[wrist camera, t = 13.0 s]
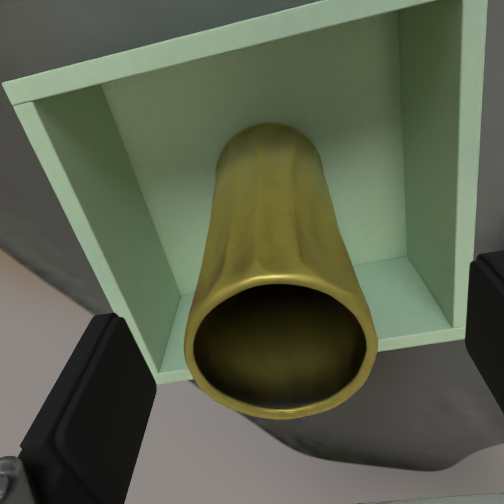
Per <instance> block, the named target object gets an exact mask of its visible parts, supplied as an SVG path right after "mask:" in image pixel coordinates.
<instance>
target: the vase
mask: <svg viewBox="0 0 504 504" xmlns="http://www.w3.org/2000/svg"><path fill="white" fill-rule="evenodd" d="M215 177H216V181H215V187H214V193H213V199H212V209H211V217H210V223H209V228H208V233H207V238H206V244H205V250H204V255H203V261H202V265H201V270H200V274H199V278H198V282H197V286H196V290H195V294H194V298H193V301H192V304H191V307H190V311H189V314H188V321H187V324H186V329H185V336H184V357H185V361H186V364H187V366H188V369H189V371H190V373H191V375H192V377H193V378H194V380H195V382H196V383H197V385H198V386H199V387H200V388H201V390H203V391H204V392H205V393H206V394H207V395H208V396H209V397H211V398H212V399H214V400H215V401H217V402H218V403H220V404H222V405H224V406H226V407H228V408H230V409H233V410H236V411H239V412H241V413H244V414H248V415H251V416H255V417H261V418H267V419H276V420H283V419H294V418H301V417H305V416H309V415H313V414H317V413H320V412H324V411H327V410H329V409H332V408H334V407H336V406H338V405H339V404H341V403H343V402H344V401H346V400H347V399H348V398H350V397H351V396H352V395H353V394H355V393H356V392H357V391H358V390H359V389H360V388H361V387H362V385H363V384H364V383H365V381H366V380H367V378H368V377H369V374H370V372H371V370H372V367H373V365H374V362H375V359H376V355H377V351H378V337H377V334H376V331H375V328H374V324H373V320H372V316H371V312H370V308H369V306H368V304H367V302H366V299H365V296H364V294H363V291H362V289H361V287H360V285H359V282H358V279H357V277H356V274H355V271H354V268H353V265H352V262H351V260H350V257H349V254H348V251H347V249H346V246H345V244H344V241H343V239H342V237H341V234H340V231H339V228H338V223H337V219H336V215H335V211H334V207H333V203H332V199H331V196H330V193H329V189H328V185H327V183H326V180H325V177H324V171H323V165H322V161H321V157H320V155H319V152H318V150H317V148H316V147H315V146H314V144H313V143H312V142H311V141H310V140H309V139H308V138H307V137H306V136H305V135H303V134H302V133H300V132H299V131H297V130H296V129H294V128H292V127H289V126H286V125H282V124H275V123H263V124H257V125H254V126H251V127H248V128H246V129H244V130H242V131H241V132H239V133H238V134H236V135H235V136H234V137H233V138H231V139H230V141H229V142H228V143H227V144H226V145H225V147H224V148H223V150H222V152H221V154H220V156H219V158H218V161H217V165H216V169H215Z"/></svg>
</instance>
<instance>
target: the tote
mask: <svg viewBox="0 0 504 504" xmlns="http://www.w3.org/2000/svg"><path fill="white" fill-rule="evenodd" d="M487 5H488V0H322V1H318V2H314V3H310V4H306V5H302V6H298V7H295V8H291V9H287V10H283V11H279V12H275V13H271V14H267V15H263V16H260V17H256V18H252V19H248V20H244V21H240V22H236V23H232V24H228V25H225V26H221V27H217V28H213V29H209V30H205V31H201V32H197V33H193V34H190V35H186V36H182V37H178V38H174V39H170V40H166V41H162V42H158V43H155V44H151V45H147V46H143V47H139V48H135V49H131V50H127V51H124V52H120V53H116V54H112V55H108V56H104V57H100V58H96V59H92V60H89V61H85V62H81V63H77V64H73V65H69V66H65V67H61V68H57V69H54V70H50V71H46V72H42V73H38V74H34V75H30V76H26V77H22V78H19V79H15V80H11V81H7V82H3V83H2V86H3V88H4V90H5V92H6V94H7V96H8V98H9V100H10V102H11V104H12V105H14V106H13V108H14V110H15V112H16V114H17V116H18V118H19V120H20V122H21V124H22V126H23V128H24V130H25V133H26V135H27V137H28V139H29V141H30V143H31V145H32V147H33V149H34V151H35V153H36V155H37V157H38V159H39V161H40V163H41V165H42V167H43V169H44V171H45V173H46V175H47V177H48V179H49V181H50V183H51V185H52V187H53V189H54V191H55V193H56V196H57V198H58V200H59V202H60V204H61V206H62V208H63V210H64V212H65V214H66V216H67V218H68V220H69V222H70V224H71V226H72V228H73V230H74V232H75V234H76V236H77V238H78V240H79V242H80V244H81V246H82V248H83V250H84V252H85V254H86V256H87V259H88V261H89V263H90V265H91V267H92V269H93V271H94V273H95V275H96V277H97V279H98V281H99V283H100V285H101V287H102V289H103V291H104V293H105V295H106V297H107V299H108V301H109V303H110V305H111V307H112V309H113V311H114V313H116V314H117V315H118V316H119V317H123V318H124V319H125V320H126V322H127V324H128V326H129V328H130V330H131V332H132V334H133V336H134V338H135V341H136V343H137V345H138V347H139V349H140V351H141V353H142V355H143V357H144V359H145V361H146V363H147V365H148V367H149V369H150V371H151V373H152V375H153V377H154V379H155V381H156V385H158V384H164V383H171V382H178V381H185V380H192V379H194V378H193V377H192V375H191V373H190V371H189V369H188V366H187V364H186V361H185V357H184V336H185V329H186V324H187V321H188V314H189V311H190V307H191V304H192V301H193V298H194V294H195V290H196V286H197V282H198V278H199V274H200V270H201V265H202V261H203V255H204V250H205V244H206V238H207V233H208V228H209V223H210V217H211V209H212V199H213V193H214V187H215V181H216V177H215V169H216V165H217V161H218V158H219V156H220V154H221V152H222V150H223V148H224V147H225V145H226V144H227V143H228V142H229V141H230V139H231V138H233V137H234V136H235V135H236V134H238V133H239V132H241V131H242V130H244V129H246V128H248V127H251V126H254V125H257V124H263V123H275V124H282V125H286V126H289V127H292V128H294V129H296V130H297V131H299V132H300V133H302V134H303V135H305V136H306V137H307V138H308V139H309V140H310V141H311V142H312V143H313V144H314V146H315V147H316V148H317V150H318V152H319V155H320V157H321V161H322V165H323V171H324V177H325V180H326V183H327V185H328V189H329V193H330V196H331V199H332V203H333V207H334V211H335V215H336V219H337V223H338V228H339V231H340V234H341V237H342V239H343V241H344V244H345V246H346V249H347V251H348V254H349V257H350V260H351V262H352V265H353V268H354V271H355V274H356V277H357V279H358V282H359V285H360V287H361V289H362V291H363V294H364V296H365V299H366V302H367V304H368V306H369V308H370V312H371V316H372V320H373V324H374V328H375V331H376V334H377V337H378V351H377V352H379V351H386V350H393V349H400V348H406V347H413V346H420V345H426V344H433V343H440V342H447V341H453V340H460V339H465V330H466V314H467V298H468V282H469V266H470V263H471V262H472V261H473V254H474V236H475V218H476V201H477V183H478V165H479V147H480V130H481V112H482V94H483V76H484V59H485V41H486V23H487Z"/></svg>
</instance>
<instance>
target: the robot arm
mask: <svg viewBox="0 0 504 504" xmlns="http://www.w3.org/2000/svg"><path fill="white" fill-rule="evenodd" d="M465 344H466V348H467V351H468V353H469V355H470V357H471V358H472V360H473V362H474V363H475V365H476V367H477V369H478V370H479V372H480V374H481V375H482V377H483V379H484V381H485V382H486V384H487V386H488V387H489V389H490V391H491V393H492V394H493V396H494V398H495V399H496V401H497V403H498V405H499V406H500V408H501V410H502V411H503V413H504V251H503V250H502V251H496V252H490V253H483V254H479V255H478V256H477V259H476V261H472V262H471V263H470V266H469V282H468V298H467V314H466V330H465ZM155 395H156V381H155V379H154V377H153V375H152V373H151V371H150V369H149V367H148V365H147V363H146V361H145V359H144V357H143V355H142V353H141V351H140V349H139V347H138V345H137V343H136V341H135V338H134V336H133V334H132V332H131V330H130V328H129V326H128V324H127V322H126V320H125V319H124V318H123V317H119V316H118V315H117V314H116V313H109V314H103V315H96V316H94V317H93V318H92V319H91V321H90V323H89V325H88V327H87V328H86V330H85V332H84V334H83V335H82V337H81V339H80V341H79V342H78V344H77V346H76V348H75V349H74V351H73V353H72V355H71V357H70V358H69V360H68V362H67V363H66V365H65V367H64V369H63V371H62V372H61V374H60V376H59V378H58V379H57V381H56V383H55V385H54V386H53V388H52V390H51V392H50V394H49V395H48V397H47V399H46V401H45V402H44V404H43V406H42V408H41V409H40V411H39V413H38V415H37V416H36V418H35V420H34V422H33V424H32V425H31V427H30V429H29V430H28V432H27V434H26V436H25V438H24V440H23V441H22V443H21V445H20V447H21V448H22V451H21V452H20V454H19V456H18V458H17V457H14V456H5V457H2V458H0V504H124V502H125V499H126V495H127V492H128V488H129V485H130V481H131V478H132V474H133V471H134V467H135V464H136V461H137V457H138V454H139V450H140V447H141V443H142V440H143V437H144V433H145V430H146V426H147V423H148V419H149V416H150V412H151V409H152V406H153V402H154V399H155ZM358 504H504V493H494V494H479V495H464V496H451V497H438V498H424V499H411V500H398V501H385V502H371V503H358Z"/></svg>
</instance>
